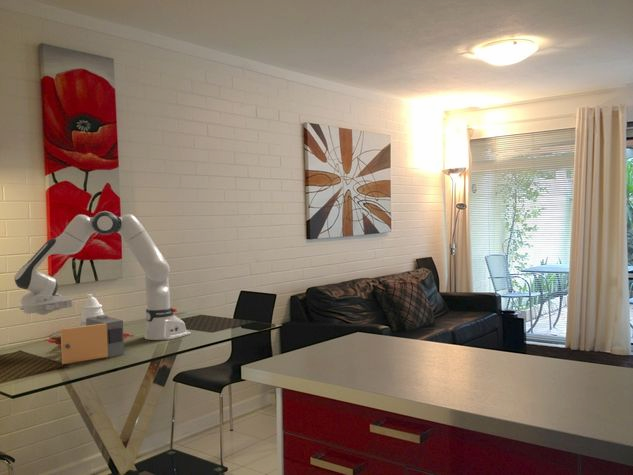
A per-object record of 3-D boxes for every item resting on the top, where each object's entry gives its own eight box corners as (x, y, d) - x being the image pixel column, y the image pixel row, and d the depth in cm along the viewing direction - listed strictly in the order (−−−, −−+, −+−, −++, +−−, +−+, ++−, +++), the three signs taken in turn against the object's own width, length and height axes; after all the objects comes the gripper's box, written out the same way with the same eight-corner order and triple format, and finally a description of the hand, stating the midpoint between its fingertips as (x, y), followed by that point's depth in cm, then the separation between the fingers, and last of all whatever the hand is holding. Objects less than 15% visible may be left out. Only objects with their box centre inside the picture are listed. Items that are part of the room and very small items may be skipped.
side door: (61, 363, 244) (60, 329, 243) (106, 356, 255) (105, 323, 254) (63, 364, 242) (62, 330, 241) (108, 357, 252) (107, 324, 252)
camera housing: (104, 348, 273) (103, 313, 272) (125, 355, 260) (124, 318, 259) (87, 351, 267) (86, 315, 266) (107, 358, 254) (106, 321, 253)
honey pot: (97, 330, 315) (95, 296, 314) (75, 329, 317) (73, 295, 316) (110, 325, 327) (109, 292, 326) (89, 324, 330) (87, 292, 329)
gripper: (17, 300, 261) (30, 303, 251) (64, 294, 275) (77, 296, 266) (18, 315, 261) (31, 318, 252) (65, 307, 276) (78, 310, 266)
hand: (55, 307), depth 259 cm, fingers closed
